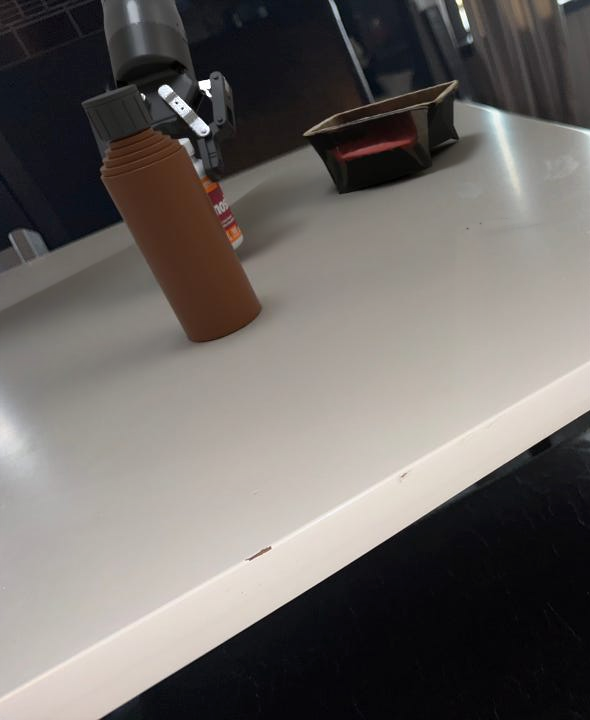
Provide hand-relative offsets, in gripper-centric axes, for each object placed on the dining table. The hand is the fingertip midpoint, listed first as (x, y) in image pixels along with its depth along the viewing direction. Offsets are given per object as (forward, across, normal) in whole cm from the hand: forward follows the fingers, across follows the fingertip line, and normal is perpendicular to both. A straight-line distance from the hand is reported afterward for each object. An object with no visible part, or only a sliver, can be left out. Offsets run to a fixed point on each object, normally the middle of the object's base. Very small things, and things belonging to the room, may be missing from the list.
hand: (179, 188), depth 73 cm
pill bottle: (+4, 0, +6) cm, 8 cm away
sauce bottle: (+17, +3, -5) cm, 17 cm away
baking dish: (-5, +20, +18) cm, 27 cm away
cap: (+3, +3, -18) cm, 18 cm away
